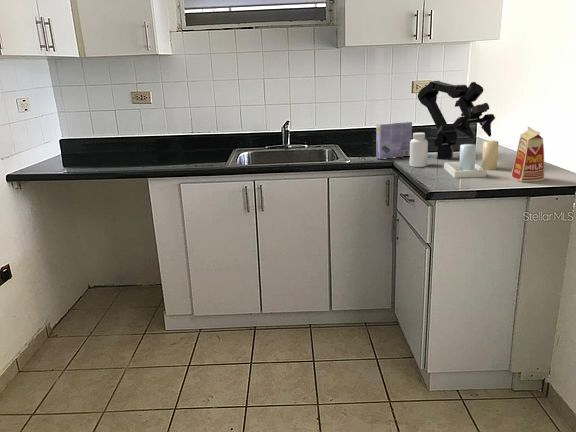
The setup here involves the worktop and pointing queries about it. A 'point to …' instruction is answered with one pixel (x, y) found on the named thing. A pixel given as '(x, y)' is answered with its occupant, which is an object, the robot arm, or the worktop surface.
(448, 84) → the robot arm
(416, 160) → the pill bottle
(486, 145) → the beige tall cylinder
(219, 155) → the worktop surface
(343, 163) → the worktop surface
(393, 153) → the cake pan box
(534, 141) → the milk carton
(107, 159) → the worktop surface
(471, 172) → the white rectangular tray
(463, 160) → the pale blue cylinder
